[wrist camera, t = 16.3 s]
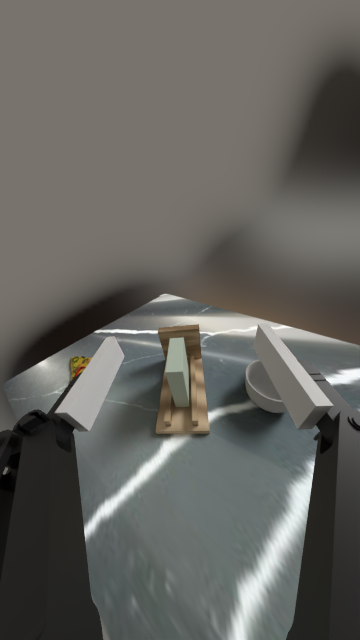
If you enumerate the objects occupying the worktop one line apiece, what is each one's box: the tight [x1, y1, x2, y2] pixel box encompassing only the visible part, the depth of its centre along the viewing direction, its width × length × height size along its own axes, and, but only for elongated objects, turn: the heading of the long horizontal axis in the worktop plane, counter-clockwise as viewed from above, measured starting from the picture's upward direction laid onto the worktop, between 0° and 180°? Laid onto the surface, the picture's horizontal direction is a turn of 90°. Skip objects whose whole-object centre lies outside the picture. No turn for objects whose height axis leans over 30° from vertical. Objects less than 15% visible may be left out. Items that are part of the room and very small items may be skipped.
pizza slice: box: [71, 357, 92, 381], centre depth 53 cm, size 16×21×3 cm
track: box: [156, 324, 210, 434], centre depth 38 cm, size 22×12×14 cm, turn 178°
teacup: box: [245, 360, 288, 413], centre depth 36 cm, size 14×11×8 cm
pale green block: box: [165, 337, 190, 407], centre depth 36 cm, size 10×4×14 cm, turn 178°
